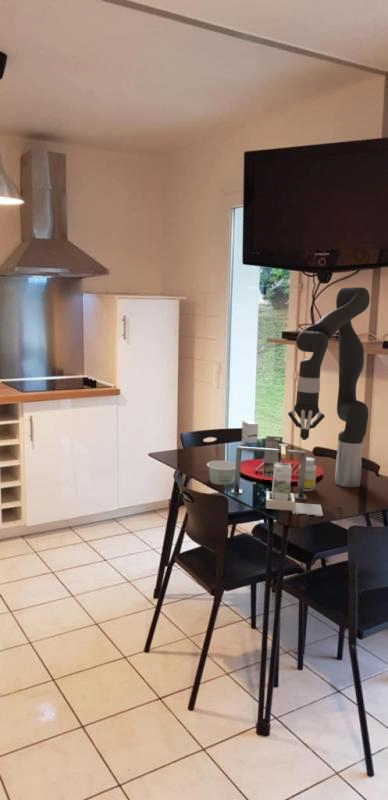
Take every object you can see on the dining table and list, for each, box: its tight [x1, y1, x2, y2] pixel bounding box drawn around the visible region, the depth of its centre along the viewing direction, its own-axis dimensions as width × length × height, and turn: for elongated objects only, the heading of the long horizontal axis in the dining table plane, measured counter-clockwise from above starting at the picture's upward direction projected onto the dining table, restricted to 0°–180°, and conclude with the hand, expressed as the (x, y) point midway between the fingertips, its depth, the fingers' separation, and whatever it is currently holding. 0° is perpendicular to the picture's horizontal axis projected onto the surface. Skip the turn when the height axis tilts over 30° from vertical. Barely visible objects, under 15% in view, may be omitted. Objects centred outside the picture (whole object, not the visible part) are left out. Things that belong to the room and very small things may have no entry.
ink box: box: [241, 419, 259, 448], centre depth 291 cm, size 9×5×12 cm, turn 17°
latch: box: [279, 443, 288, 459], centre depth 212 cm, size 3×15×2 cm, turn 173°
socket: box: [265, 490, 296, 512], centre depth 211 cm, size 10×10×3 cm
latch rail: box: [230, 445, 308, 501], centre depth 220 cm, size 27×4×17 cm, turn 83°
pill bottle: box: [297, 456, 317, 492], centre depth 229 cm, size 6×6×12 cm
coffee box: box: [262, 435, 283, 478], centre depth 240 cm, size 9×6×16 cm
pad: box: [291, 502, 324, 517], centre depth 207 cm, size 10×10×1 cm
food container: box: [206, 460, 236, 486], centre depth 235 cm, size 12×12×6 cm
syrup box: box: [271, 462, 293, 501], centre depth 210 cm, size 6×6×14 cm
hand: (304, 439), depth 212 cm, fingers closed
